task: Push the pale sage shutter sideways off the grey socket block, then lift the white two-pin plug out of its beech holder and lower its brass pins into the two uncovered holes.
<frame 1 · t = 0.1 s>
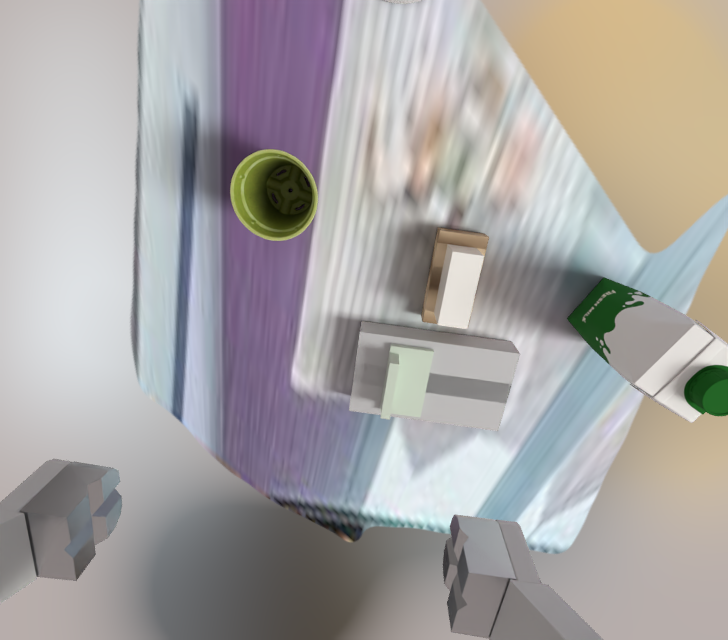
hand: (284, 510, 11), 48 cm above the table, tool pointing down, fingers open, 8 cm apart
milk carton: (603, 311, 58), on the table
holder: (451, 276, 57), on the table
plug: (452, 276, 57), touching holder
shutter: (406, 386, 57), point 6 cm above the table, slide at 0.0 cm
plant pot: (290, 190, 55), on the table
socket: (404, 366, 62), on the table
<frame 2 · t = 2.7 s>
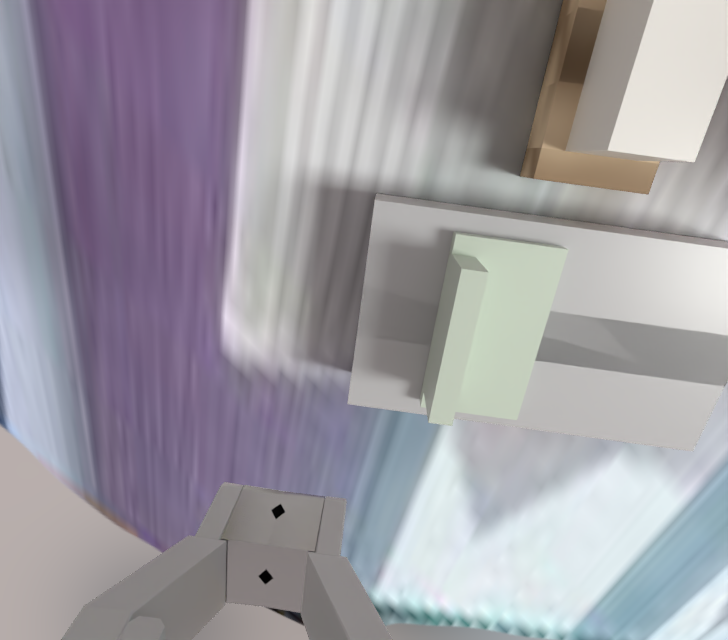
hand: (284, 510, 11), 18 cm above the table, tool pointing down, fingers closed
holder: (606, 64, 23), on the table
plug: (609, 63, 22), touching holder
shutter: (493, 342, 22), point 6 cm above the table, slide at 0.0 cm
socket: (472, 304, 28), on the table
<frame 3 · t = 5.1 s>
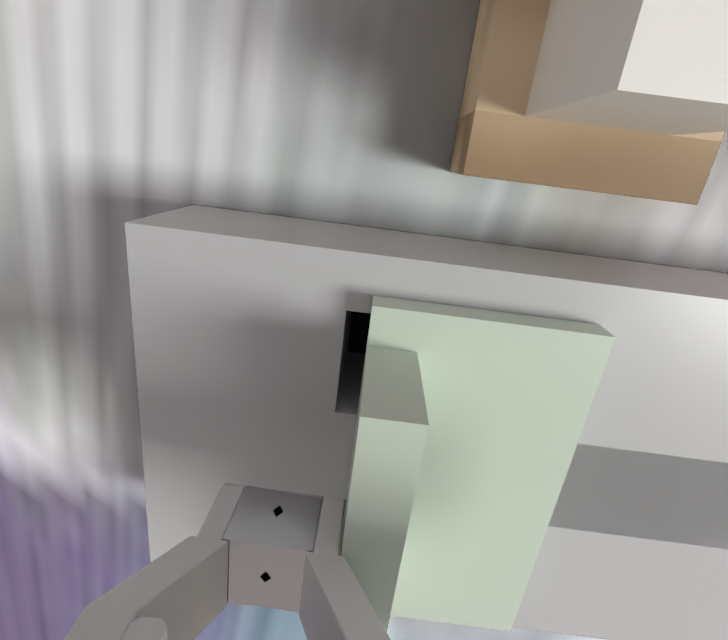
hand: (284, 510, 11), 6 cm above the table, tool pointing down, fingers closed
shutter: (458, 525, 11), point 6 cm above the table, slide at 1.9 cm, touching gripper
socket: (382, 392, 16), on the table
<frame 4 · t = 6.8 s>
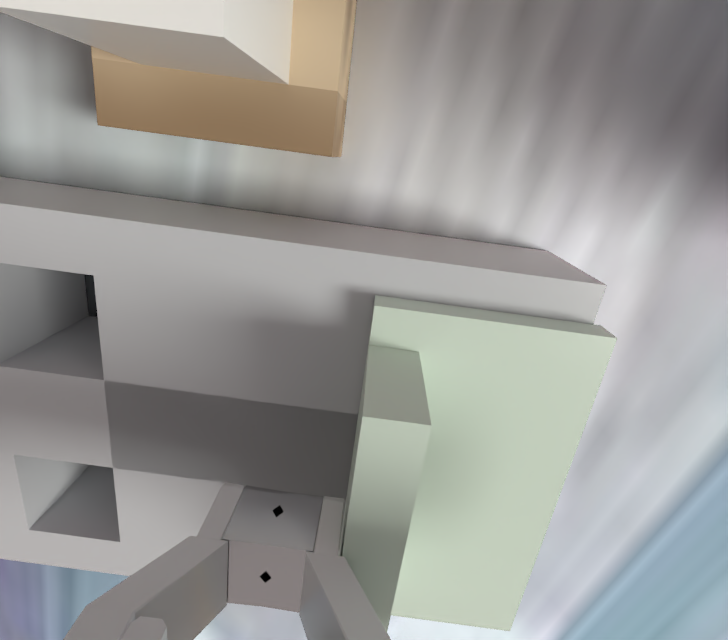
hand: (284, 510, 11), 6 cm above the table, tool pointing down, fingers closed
shutter: (458, 525, 11), point 6 cm above the table, slide at 11.4 cm, touching gripper
socket: (132, 358, 16), on the table
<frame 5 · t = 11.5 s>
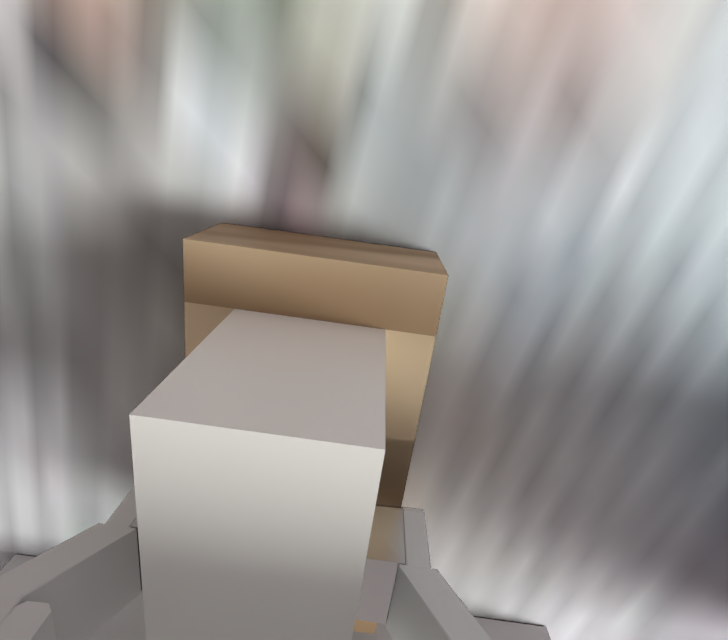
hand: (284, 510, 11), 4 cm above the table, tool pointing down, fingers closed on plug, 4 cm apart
holder: (311, 420, 14), on the table
plug: (309, 425, 14), touching gripper, holder
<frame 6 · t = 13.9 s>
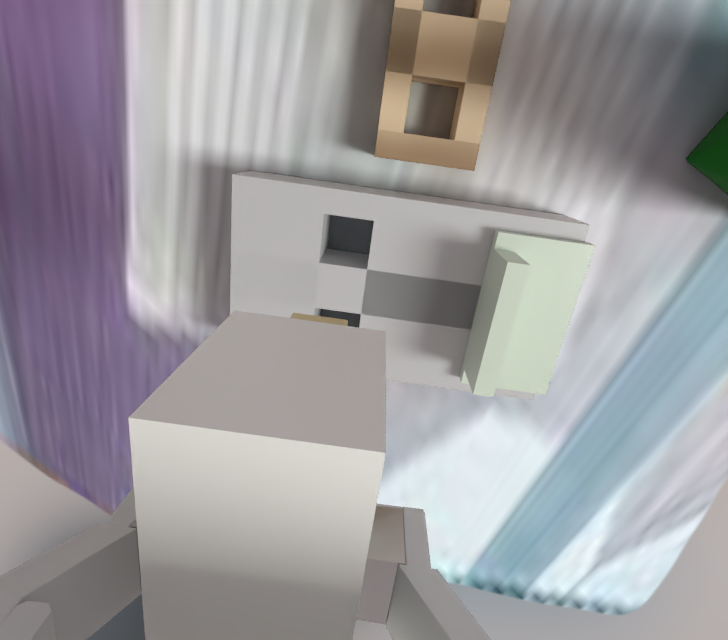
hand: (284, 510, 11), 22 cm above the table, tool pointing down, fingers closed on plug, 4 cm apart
holder: (439, 56, 26), on the table
plug: (309, 426, 14), point 19 cm above the table, touching gripper
shutter: (528, 326, 26), point 6 cm above the table, slide at 11.5 cm
socket: (345, 271, 31), on the table
when the fingers open (6 cm above the table, at t = 16.6 s): plug stays where it is, resting on socket.
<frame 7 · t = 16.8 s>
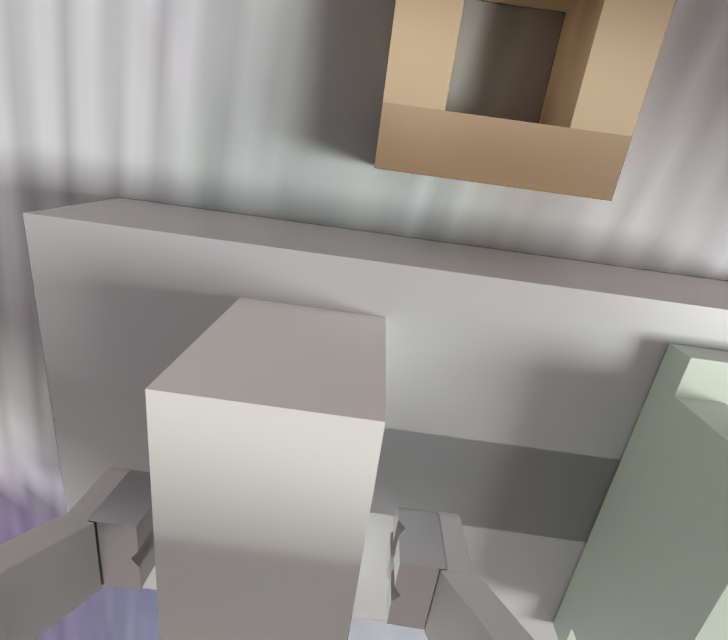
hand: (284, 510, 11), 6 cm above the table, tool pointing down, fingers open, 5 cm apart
plug: (311, 413, 14), point 2 cm above the table, touching socket
socket: (319, 390, 16), on the table
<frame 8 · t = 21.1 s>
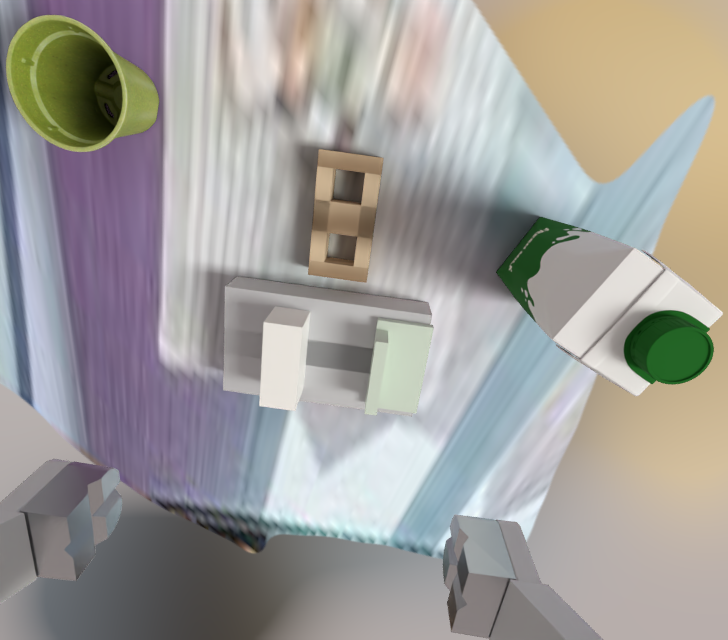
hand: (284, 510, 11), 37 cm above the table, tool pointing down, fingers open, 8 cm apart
milk carton: (542, 262, 45), on the table
holder: (346, 215, 44), on the table
plug: (294, 340, 48), point 2 cm above the table, touching socket
shutter: (398, 373, 44), point 6 cm above the table, slide at 11.5 cm
plant pot: (129, 100, 42), on the table
socket: (297, 335, 49), on the table
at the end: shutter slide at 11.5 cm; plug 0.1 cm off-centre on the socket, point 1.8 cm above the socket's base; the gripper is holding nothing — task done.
